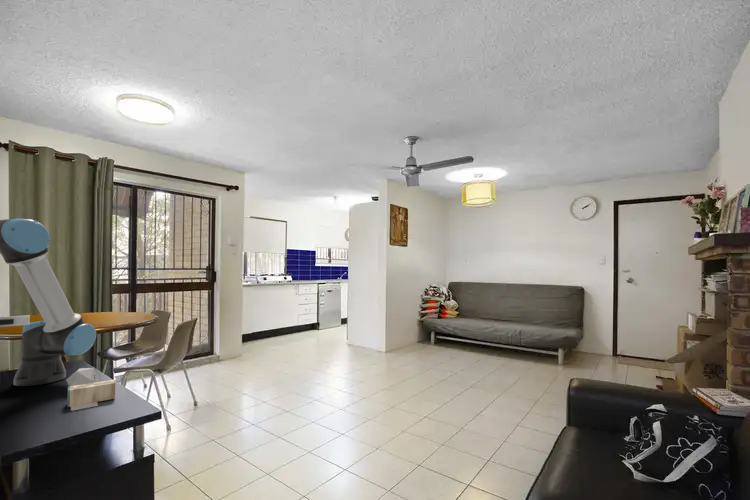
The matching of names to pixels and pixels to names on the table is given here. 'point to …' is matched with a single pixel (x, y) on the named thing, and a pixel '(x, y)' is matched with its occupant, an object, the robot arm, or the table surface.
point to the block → (90, 393)
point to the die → (83, 377)
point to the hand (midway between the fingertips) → (29, 320)
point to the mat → (84, 406)
